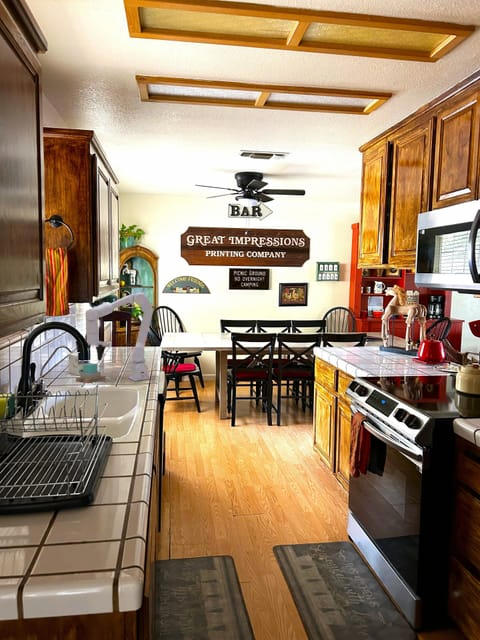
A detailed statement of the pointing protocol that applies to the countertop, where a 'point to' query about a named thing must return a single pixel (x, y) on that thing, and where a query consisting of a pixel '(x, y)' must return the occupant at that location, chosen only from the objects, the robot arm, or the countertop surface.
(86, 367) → the teal block
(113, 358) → the countertop surface
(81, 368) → the light bulb box
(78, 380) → the walnut base slab
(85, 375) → the grey middle slab
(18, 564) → the countertop surface
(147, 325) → the robot arm
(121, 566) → the countertop surface
